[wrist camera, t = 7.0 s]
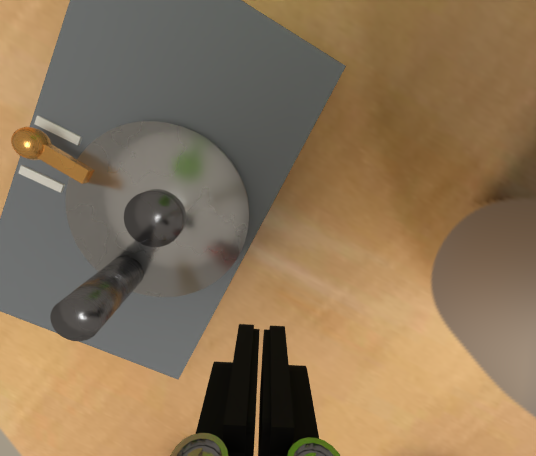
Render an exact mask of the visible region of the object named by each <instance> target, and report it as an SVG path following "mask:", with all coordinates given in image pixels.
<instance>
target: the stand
mask: <svg viewBox="0 0 536 456" xmlns="http://www.w3.org/2000/svg"><path fill="white" fill-rule="evenodd" d="M345 67H346V66H345V65H343V64H342V63H340V62H338V61H337V60H335V59H334V58H332V57H330V56H329V55H327V54H326V53H324V52H322V51H321V50H319V49H318V48H316V47H315V46H313V45H311V44H310V43H308V42H307V41H305V40H303V39H302V38H300V37H299V36H297V35H295V34H294V33H292V32H291V31H289V30H288V29H286V28H284V27H283V26H281V25H280V24H278V23H276V22H275V21H273V20H272V19H270V18H268V17H267V16H265V15H264V14H262V13H261V12H259V11H257V10H256V9H254V8H253V7H251V6H249V5H248V4H246V3H245V2H243V1H241V0H70V3H69V6H68V9H67V12H66V15H65V18H64V21H63V24H62V28H61V31H60V34H59V37H58V40H57V43H56V46H55V49H54V53H53V56H52V59H51V62H50V65H49V68H48V71H47V74H46V78H45V81H44V84H43V87H42V90H41V93H40V96H39V99H38V102H37V106H36V109H35V112H34V115H33V118H32V121H31V124H30V127H33V128H36V129H39V130H41V131H43V132H44V133H45V134H46V135H47V136H48V137H49V138H50V140H51V143H52V145H54V146H55V147H57V148H59V149H60V150H62V151H64V152H66V153H67V154H69V155H71V156H72V157H74V158H76V159H78V158H79V156H80V155H81V153H82V152H83V151H84V150H85V149H86V147H87V146H88V145H89V144H91V143H92V142H93V141H94V140H95V139H96V138H98V137H99V136H101V135H102V134H104V133H105V132H107V131H109V130H111V129H114V128H116V127H118V126H121V125H125V124H128V123H133V122H141V121H158V122H166V123H171V124H174V125H178V126H182V127H185V128H187V129H190V130H192V131H195V132H197V133H199V134H201V135H202V136H204V137H206V138H208V139H209V140H210V141H212V142H213V143H214V144H216V145H217V146H218V147H219V148H220V149H221V150H222V151H223V152H224V153H225V154H226V155H227V156H228V157H229V159H230V160H231V161H232V162H233V164H234V165H235V167H236V168H237V170H238V172H239V173H240V176H241V178H242V180H243V183H244V185H245V189H246V192H247V196H248V203H249V223H248V232H247V236H246V239H245V243H244V245H243V248H242V250H241V252H240V254H239V256H238V258H237V259H236V261H235V262H234V264H233V265H232V266H231V268H230V269H229V270H228V271H227V272H226V273H225V274H224V275H223V276H222V277H221V278H219V279H218V280H217V281H215V282H214V283H213V284H211V285H209V286H207V287H206V288H204V289H201V290H199V291H197V292H194V293H190V294H187V295H183V296H176V297H154V296H147V295H143V294H138V293H135V292H132V293H131V294H130V295H129V296H128V298H127V299H126V300H125V301H124V302H123V303H122V305H121V306H120V307H119V308H118V309H117V310H116V311H115V313H114V314H113V315H112V316H111V317H110V318H109V320H108V321H107V322H106V323H105V324H104V325H103V327H102V328H101V329H100V330H99V331H98V332H97V333H96V335H95V336H93V337H92V338H90V339H88V340H85V341H79V342H82V343H84V344H87V345H90V346H92V347H95V348H97V349H100V350H103V351H105V352H108V353H110V354H113V355H116V356H118V357H121V358H124V359H126V360H129V361H131V362H134V363H137V364H139V365H142V366H144V367H147V368H150V369H152V370H155V371H157V372H160V373H163V374H165V375H168V376H170V377H173V378H176V379H179V377H180V375H181V373H182V372H183V370H184V368H185V366H186V364H187V362H188V360H189V359H190V357H191V355H192V353H193V351H194V349H195V347H196V345H197V344H198V342H199V340H200V338H201V336H202V334H203V332H204V330H205V329H206V327H207V325H208V323H209V321H210V319H211V317H212V316H213V314H214V312H215V310H216V308H217V306H218V304H219V302H220V301H221V299H222V297H223V295H224V293H225V291H226V289H227V287H228V286H229V284H230V282H231V280H232V278H233V276H234V274H235V273H236V271H237V269H238V267H239V265H240V263H241V261H242V259H243V258H244V256H245V254H246V252H247V250H248V248H249V246H250V244H251V243H252V241H253V239H254V237H255V235H256V233H257V231H258V230H259V228H260V226H261V224H262V222H263V220H264V218H265V216H266V215H267V213H268V211H269V209H270V207H271V205H272V203H273V201H274V200H275V198H276V196H277V194H278V192H279V190H280V188H281V187H282V185H283V183H284V181H285V179H286V177H287V175H288V173H289V172H290V170H291V168H292V166H293V164H294V162H295V160H296V158H297V157H298V155H299V153H300V151H301V149H302V147H303V145H304V144H305V142H306V140H307V138H308V136H309V134H310V132H311V130H312V129H313V127H314V125H315V123H316V121H317V119H318V117H319V115H320V114H321V112H322V110H323V108H324V106H325V104H326V102H327V101H328V99H329V97H330V95H331V93H332V91H333V89H334V87H335V86H336V84H337V82H338V80H339V78H340V76H341V74H342V72H343V71H344V69H345ZM68 180H69V176H68V175H66V174H64V173H62V172H61V171H59V170H57V169H55V168H54V167H52V166H50V165H49V164H47V163H45V162H43V161H42V160H30V159H26V158H24V157H22V156H20V159H19V162H18V165H17V168H16V171H15V174H14V177H13V181H12V184H11V187H10V190H9V193H8V196H7V199H6V202H5V206H4V209H3V212H2V215H1V218H0V311H1V312H4V313H6V314H9V315H11V316H14V317H17V318H19V319H22V320H24V321H27V322H30V323H32V324H35V325H38V326H40V327H43V328H45V329H48V330H51V331H53V332H56V331H55V329H54V328H53V326H52V324H51V320H50V314H51V311H52V309H53V307H54V306H55V305H56V304H57V303H58V302H60V301H61V300H62V299H64V298H65V297H66V296H67V295H69V294H70V293H71V292H73V291H74V290H75V289H77V288H78V287H79V286H80V285H82V284H83V283H84V282H86V281H87V280H88V279H89V278H91V277H92V276H93V275H95V274H96V273H97V272H98V271H97V270H96V269H95V268H94V267H93V266H92V265H91V264H90V263H89V262H88V260H87V259H86V258H85V257H84V255H83V254H82V252H81V251H80V249H79V248H78V246H77V244H76V242H75V240H74V238H73V236H72V234H71V230H70V227H69V224H68V220H67V214H66V202H65V199H66V188H67V184H68ZM56 333H57V332H56Z"/></svg>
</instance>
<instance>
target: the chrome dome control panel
mask: <svg viewBox="0 0 536 456" xmlns="http://www.w3.org/2000/svg"><path fill="white" fill-rule="evenodd" d="M11 143H12V146H13V148H14V150H15V151H16V152H17V153H18V154H19V155H20V156H22V157H24V158H26V159H30V160H42V161H43V162H45V163H47V164H49V165H50V166H52V167H54V168H55V169H57V170H59V171H61V172H62V173H64V174H66V175H68V176H69V180H68V184H67V188H66V199H65V202H66V214H67V220H68V224H69V227H70V230H71V234H72V236H73V238H74V240H75V242H76V244H77V246H78V248H79V249H80V251H81V252H82V254H83V255H84V257H85V258H86V259H87V260H88V262H89V263H90V264H91V265H92V266H93V267H94V268H95V269H96V270H97V271H98V272H97V273H96V274H95V275H93V276H92V277H91V278H89V279H88V280H87V281H86V282H84V283H83V284H82V285H80V286H79V287H78V288H77V289H75V290H74V291H73V292H71V293H70V294H69V295H67V296H66V297H65V298H64V299H62V300H61V301H60V302H58V303H57V304H56V305H55V306H54V307H53V309H52V311H51V314H50V320H51V324H52V326H53V328H54V329H55V331H56V332H57V333H58V334H59V335H61V336H62V337H64V338H66V339H68V340H72V341H85V340H88V339H90V338H92V337H93V336H95V335H96V333H97V332H98V331H99V330H100V329H101V328H102V327H103V325H104V324H105V323H106V322H107V321H108V320H109V318H110V317H111V316H112V315H113V314H114V313H115V311H116V310H117V309H118V308H119V307H120V306H121V305H122V303H123V302H124V301H125V300H126V299H127V298H128V296H129V295H130V294H131V293H132V292H135V293H138V294H143V295H147V296H154V297H176V296H183V295H187V294H190V293H194V292H197V291H199V290H201V289H204V288H206V287H207V286H209V285H211V284H213V283H214V282H215V281H217V280H218V279H219V278H221V277H222V276H223V275H224V274H225V273H226V272H227V271H228V270H229V269H230V268H231V266H232V265H233V264H234V262H235V261H236V259H237V258H238V256H239V254H240V252H241V250H242V248H243V245H244V243H245V239H246V236H247V232H248V223H249V203H248V196H247V192H246V189H245V185H244V183H243V180H242V178H241V176H240V173H239V172H238V170H237V168H236V167H235V165H234V164H233V162H232V161H231V160H230V159H229V157H228V156H227V155H226V154H225V153H224V152H223V151H222V150H221V149H220V148H219V147H218V146H217V145H216V144H214V143H213V142H212V141H210V140H209V139H208V138H206V137H204V136H202V135H201V134H199V133H197V132H195V131H192V130H190V129H187V128H185V127H182V126H178V125H174V124H171V123H166V122H158V121H141V122H133V123H128V124H125V125H121V126H118V127H116V128H114V129H111V130H109V131H107V132H105V133H104V134H102V135H101V136H99V137H98V138H96V139H95V140H94V141H93V142H92V143H91V144H89V145H88V146H87V147H86V149H85V150H84V151H83V152H82V153H81V155H80V156H79V158H78V159H76V158H74V157H72V156H71V155H69V154H67V153H66V152H64V151H62V150H60V149H59V148H57V147H55V146H54V145H52V143H51V140H50V138H49V137H48V136H47V135H46V134H45V133H44V132H43V131H41V130H39V129H36V128H33V127H24V128H20V129H18V130H17V131H15V132H14V134H13V135H12V138H11Z"/></svg>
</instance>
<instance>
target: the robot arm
mask: <svg viewBox="0 0 536 456" xmlns="http://www.w3.org/2000/svg"><path fill="white" fill-rule="evenodd" d="M258 349H259V329H254V325H245V324H239V328H238V335H237V341H236V347H235V353H234V360H233V363H231V362H214V364H213V367H212V371H211V375H210V379H209V383H208V387H207V391H206V395H205V399H204V403H203V407H202V411H201V415H200V419H199V423H198V427H197V431H196V434H194V435H191V436H189V437H187V438H185V439H184V440H182V441H181V442H180V443H179V444H178V445H177V446H176V447H175V449H174V450H173V452H172V454H171V455H170V456H253V453H254V435H255V416H256V393H257V371H258ZM258 456H340V454H339V453H338V452H337V451H336V450H335V448H334V447H333V446H331V445H330V444H329V443H327V442H326V441H324V440H321V439H319V435H318V429H317V424H316V418H315V412H314V407H313V401H312V395H311V390H310V384H309V378H308V373H307V368H306V366H296V365H288V355H287V345H286V334H285V327H284V326H270V330H264V338H263V354H262V371H261V387H260V413H259V446H258Z"/></svg>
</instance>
